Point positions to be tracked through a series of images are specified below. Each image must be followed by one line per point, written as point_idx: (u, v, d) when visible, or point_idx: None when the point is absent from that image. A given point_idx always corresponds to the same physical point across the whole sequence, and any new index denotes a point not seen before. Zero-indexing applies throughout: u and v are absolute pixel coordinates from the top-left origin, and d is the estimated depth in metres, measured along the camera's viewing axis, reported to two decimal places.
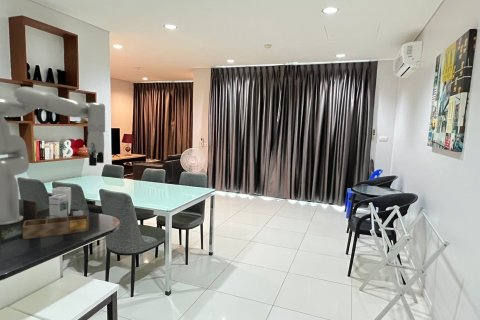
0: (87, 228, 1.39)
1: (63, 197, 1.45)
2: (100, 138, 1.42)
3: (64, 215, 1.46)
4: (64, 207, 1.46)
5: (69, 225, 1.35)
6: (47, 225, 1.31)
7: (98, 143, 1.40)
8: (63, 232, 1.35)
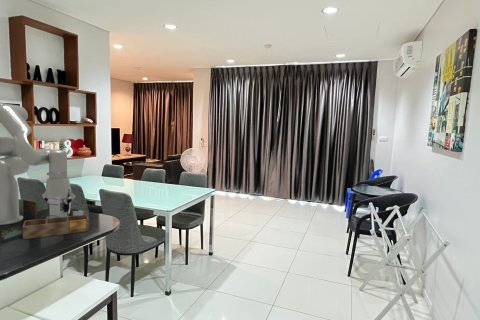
0: (87, 228, 1.39)
1: None
2: None
3: (64, 215, 1.46)
4: None
5: (69, 225, 1.35)
6: (47, 225, 1.31)
7: None
8: (63, 232, 1.35)
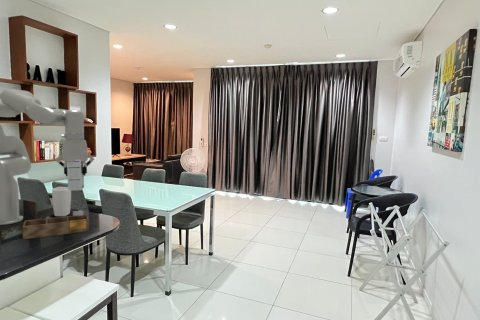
0: (87, 228, 1.39)
1: None
2: None
3: (82, 179, 1.40)
4: (82, 170, 1.40)
5: (69, 225, 1.35)
6: (47, 225, 1.31)
7: None
8: (63, 232, 1.35)
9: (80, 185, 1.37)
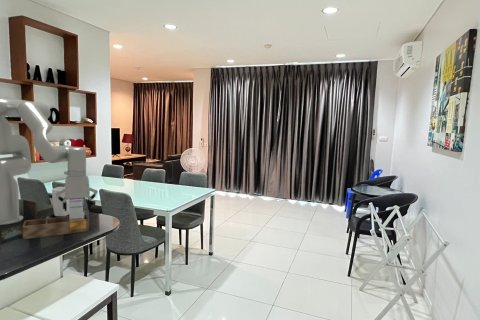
0: (87, 228, 1.39)
1: (83, 198, 1.41)
2: None
3: (84, 217, 1.42)
4: (83, 208, 1.42)
5: (69, 225, 1.35)
6: (47, 225, 1.31)
7: None
8: (63, 232, 1.35)
9: None
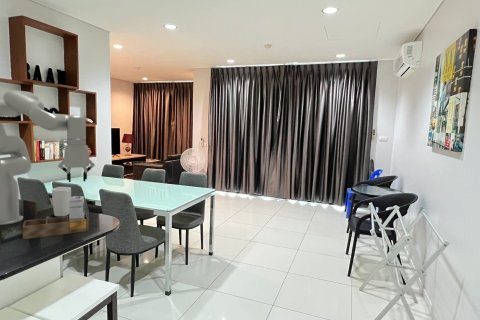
0: (87, 228, 1.39)
1: (83, 198, 1.41)
2: None
3: (84, 217, 1.42)
4: (83, 208, 1.42)
5: (69, 225, 1.35)
6: (47, 225, 1.31)
7: None
8: (63, 232, 1.35)
9: None
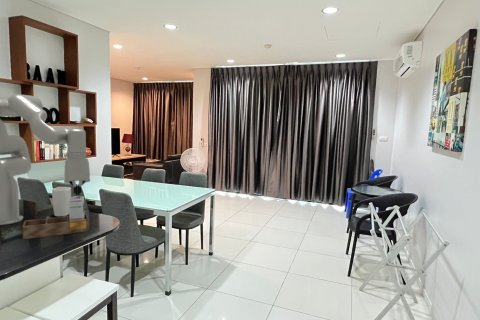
0: (87, 228, 1.39)
1: (83, 198, 1.41)
2: None
3: (84, 217, 1.42)
4: (83, 208, 1.42)
5: (69, 225, 1.35)
6: (47, 225, 1.31)
7: None
8: (63, 232, 1.35)
9: None
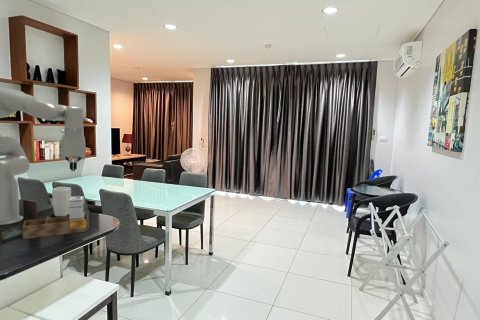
0: (87, 228, 1.39)
1: (83, 198, 1.41)
2: None
3: (84, 217, 1.42)
4: (83, 208, 1.42)
5: (69, 225, 1.35)
6: (47, 225, 1.31)
7: None
8: (63, 232, 1.35)
9: None
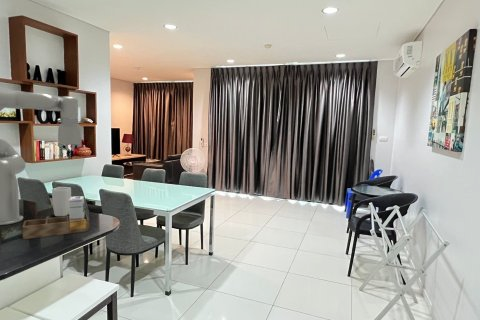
0: (87, 228, 1.39)
1: (83, 198, 1.41)
2: None
3: (84, 217, 1.42)
4: (83, 208, 1.42)
5: (69, 225, 1.35)
6: (47, 225, 1.31)
7: None
8: (63, 232, 1.35)
9: None
